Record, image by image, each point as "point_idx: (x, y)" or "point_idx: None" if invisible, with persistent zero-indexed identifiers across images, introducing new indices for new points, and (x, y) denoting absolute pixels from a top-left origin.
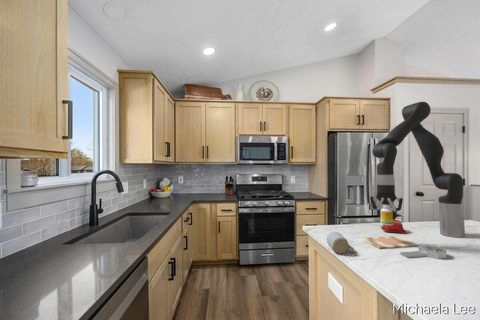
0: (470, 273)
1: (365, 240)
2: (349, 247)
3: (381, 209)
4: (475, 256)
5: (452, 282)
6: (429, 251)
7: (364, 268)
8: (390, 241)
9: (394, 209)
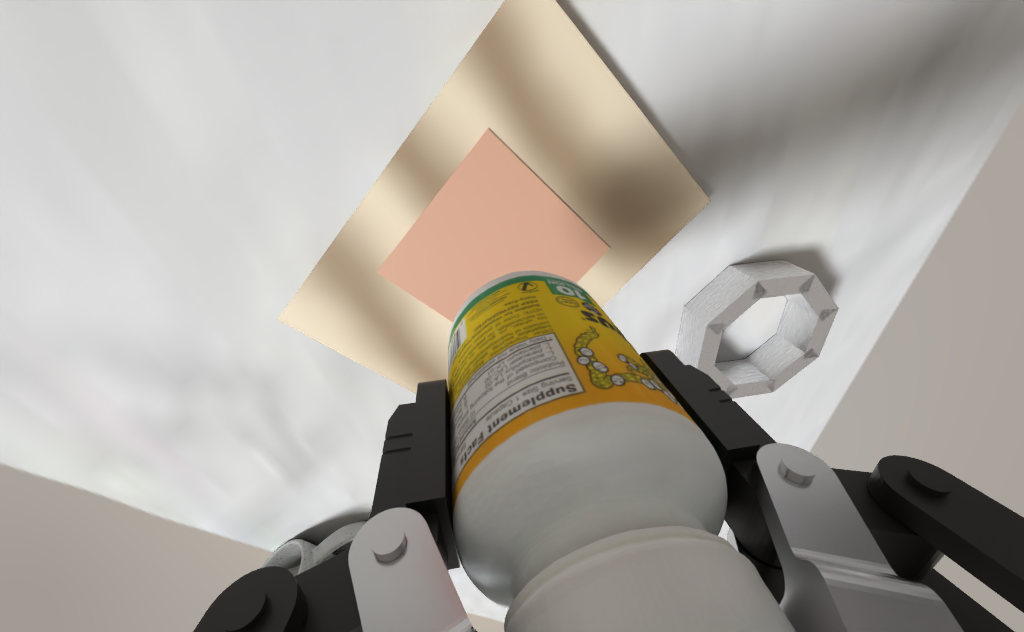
0: (802, 445)
1: (350, 353)
2: (352, 532)
3: (496, 601)
4: (965, 193)
5: (718, 534)
6: (735, 397)
7: (488, 607)
8: (518, 257)
9: (769, 571)
